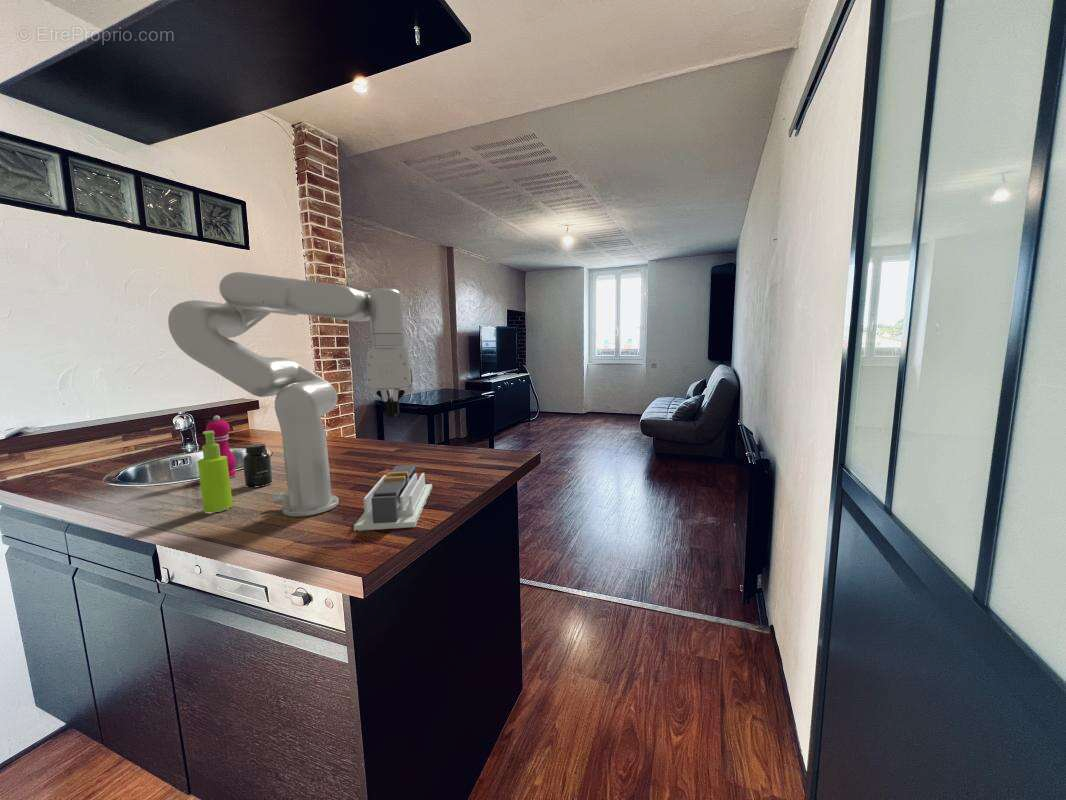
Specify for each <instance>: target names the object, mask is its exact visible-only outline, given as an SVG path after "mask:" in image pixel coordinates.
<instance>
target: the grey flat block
mask: <svg viewBox="0 0 1066 800" xmlns="http://www.w3.org/2000/svg"><path fill="white" fill-rule="evenodd" d="M405 483H406V476H391V477H384V478H383V482H382V483H381V484H380V486H379V487H378V488H377V489H376V491H375V492H374V493H373V497H376V496H394V495H396V497H397V495H398V494H399V492H400V490H401V489H402V487H403V486H404V484H405Z"/></svg>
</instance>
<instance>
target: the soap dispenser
mask: <svg viewBox="0 0 1066 800" xmlns="http://www.w3.org/2000/svg"><path fill="white" fill-rule="evenodd" d="M202 434H203V435H204V437H205V444H203V445H202V447H201V448H202V456H203V458H201V459H199V460H197V468H198V475H199V483H200V490H201V492H200V493H201V498H202V499H201V500H202V506H203V512H204V511H206V512H215V511H221V510H224V509H227V508H230V507H231V506H232V505H233V504H234V502H233V496H232V488H231V478H229V470H228V462H227V457H226V456H221V455H220V447H219V444H217V443H215V441H214V435H215V432H214V431H213V430H211V431H206V430H205V431H202ZM233 506H234V505H233Z"/></svg>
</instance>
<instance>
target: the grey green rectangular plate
mask: <svg viewBox="0 0 1066 800" xmlns="http://www.w3.org/2000/svg"><path fill="white" fill-rule="evenodd" d="M415 466H416V464H408V465H407V464H405V465H403V464H402V465H395V466H394V468H392V470H391V471H390V472H386V476H387V477H391V476H406V479H408V477H409V476H410V475H411V473H412V472H413V471H414V469H415Z"/></svg>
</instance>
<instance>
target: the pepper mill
mask: <svg viewBox="0 0 1066 800" xmlns="http://www.w3.org/2000/svg"><path fill="white" fill-rule="evenodd" d="M212 419H213V420H211V421H209V422H208V423H207V425H206V427H205V431H211V430H213V431H214V432H215V435H214V441H215V443H217V444H219V447H220V455H221V456H226V457H227V462H228V470H229V477H230V476H233V475H235V474H236V475H237V472H236V469H234V468H235V466H237V459H236V458H235V456H234V454H233V453H232V451H231V449H230V446H229V441H228V440H229V439H230V437H229V434H228V433H229V432H230V430H231V429H230V428H231V427H230V424H229V423H228V422H227V421H225V420H221V417H220V416H219V415H214V416H213V417H212Z"/></svg>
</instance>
